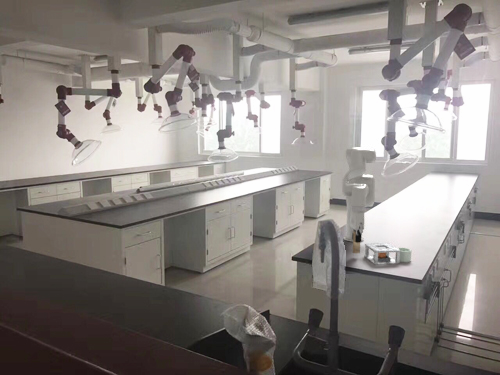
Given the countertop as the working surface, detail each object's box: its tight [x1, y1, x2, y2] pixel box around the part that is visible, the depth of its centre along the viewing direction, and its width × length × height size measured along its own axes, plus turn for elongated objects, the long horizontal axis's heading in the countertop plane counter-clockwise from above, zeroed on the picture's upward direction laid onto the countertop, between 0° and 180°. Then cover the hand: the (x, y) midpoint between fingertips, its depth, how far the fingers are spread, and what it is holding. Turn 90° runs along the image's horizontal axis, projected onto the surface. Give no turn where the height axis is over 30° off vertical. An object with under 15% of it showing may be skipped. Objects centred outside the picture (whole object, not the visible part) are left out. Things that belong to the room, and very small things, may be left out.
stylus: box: [352, 229, 361, 254], centre depth 221 cm, size 4×4×13 cm
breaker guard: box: [364, 242, 401, 265], centre depth 218 cm, size 14×14×7 cm
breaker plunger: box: [378, 253, 386, 258], centre depth 218 cm, size 5×5×3 cm
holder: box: [397, 247, 413, 263], centre depth 218 cm, size 7×7×6 cm
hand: (356, 240), depth 221 cm, fingers closed on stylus, 3 cm apart
